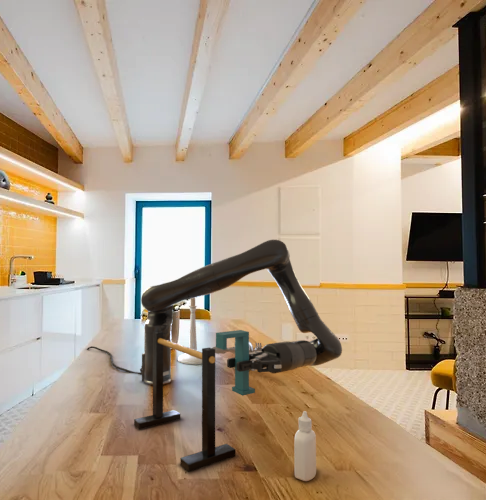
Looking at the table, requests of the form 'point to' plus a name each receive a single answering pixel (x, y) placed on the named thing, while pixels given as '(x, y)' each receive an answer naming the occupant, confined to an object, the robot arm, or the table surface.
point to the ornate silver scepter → (232, 349)
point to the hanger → (238, 358)
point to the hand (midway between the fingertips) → (233, 365)
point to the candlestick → (191, 338)
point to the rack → (209, 450)
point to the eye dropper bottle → (305, 449)
